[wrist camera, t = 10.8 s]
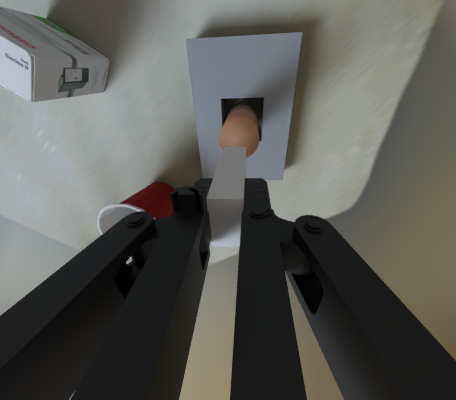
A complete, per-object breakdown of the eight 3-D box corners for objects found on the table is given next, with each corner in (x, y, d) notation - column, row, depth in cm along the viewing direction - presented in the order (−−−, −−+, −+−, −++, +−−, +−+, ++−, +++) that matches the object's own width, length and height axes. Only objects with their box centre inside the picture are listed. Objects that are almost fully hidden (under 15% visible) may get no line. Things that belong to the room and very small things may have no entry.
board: (192, 42, 25) (185, 39, 22) (296, 36, 23) (302, 32, 21) (206, 171, 35) (202, 179, 32) (280, 172, 33) (282, 180, 31)
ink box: (44, 56, 27) (-73, 47, 17) (46, 15, 25) (-89, -22, 15) (104, 94, 29) (30, 105, 19) (112, 60, 27) (31, 52, 17)
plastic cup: (142, 158, 34) (98, 193, 24) (197, 186, 37) (177, 229, 27) (128, 200, 40) (88, 243, 30) (176, 223, 42) (153, 270, 32)
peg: (228, 102, 28) (217, 118, 18) (257, 101, 28) (261, 117, 18) (229, 131, 30) (219, 159, 20) (255, 130, 30) (258, 159, 20)
